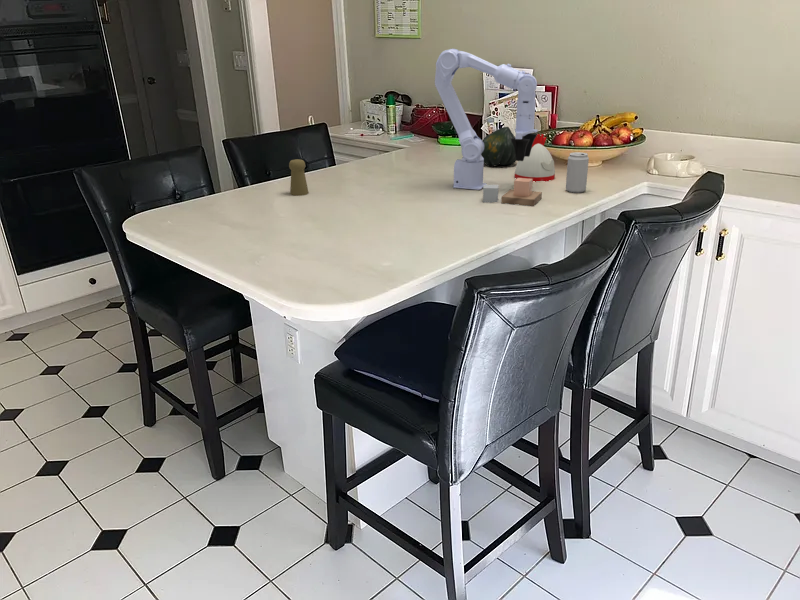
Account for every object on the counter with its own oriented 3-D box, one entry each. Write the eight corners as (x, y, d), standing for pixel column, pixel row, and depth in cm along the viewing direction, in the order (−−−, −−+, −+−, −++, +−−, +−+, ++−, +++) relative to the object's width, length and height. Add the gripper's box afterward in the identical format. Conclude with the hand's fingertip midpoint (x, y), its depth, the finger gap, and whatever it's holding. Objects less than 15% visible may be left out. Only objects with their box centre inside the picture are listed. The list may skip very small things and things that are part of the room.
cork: (312, 192, 216) (309, 158, 211) (302, 196, 211) (299, 162, 206) (296, 190, 218) (294, 157, 214) (286, 194, 213) (283, 160, 209)
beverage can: (586, 193, 207) (589, 155, 203) (565, 193, 209) (568, 155, 204) (585, 189, 213) (588, 151, 208) (565, 188, 214) (568, 151, 210)
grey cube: (482, 202, 200) (483, 188, 198) (483, 198, 204) (483, 184, 202) (497, 202, 199) (498, 188, 198) (498, 199, 203) (498, 184, 202)
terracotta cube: (513, 195, 199) (514, 180, 197) (517, 192, 203) (518, 177, 201) (528, 196, 197) (528, 181, 195) (531, 193, 201) (532, 178, 199)
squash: (466, 150, 250) (490, 122, 240) (488, 146, 260) (511, 119, 250) (488, 178, 247) (513, 151, 237) (509, 173, 257) (534, 147, 247)
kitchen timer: (563, 178, 228) (566, 134, 222) (534, 184, 221) (537, 138, 215) (534, 171, 239) (536, 129, 233) (506, 176, 232) (508, 133, 226)
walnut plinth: (501, 203, 199) (501, 196, 198) (510, 195, 207) (510, 189, 206) (533, 206, 195) (534, 199, 194) (541, 198, 203) (541, 191, 202)
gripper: (532, 118, 198) (529, 163, 203) (543, 112, 210) (540, 155, 215) (509, 117, 201) (507, 162, 206) (521, 111, 213) (519, 153, 218)
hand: (523, 158), depth 211 cm, fingers open, 7 cm apart
